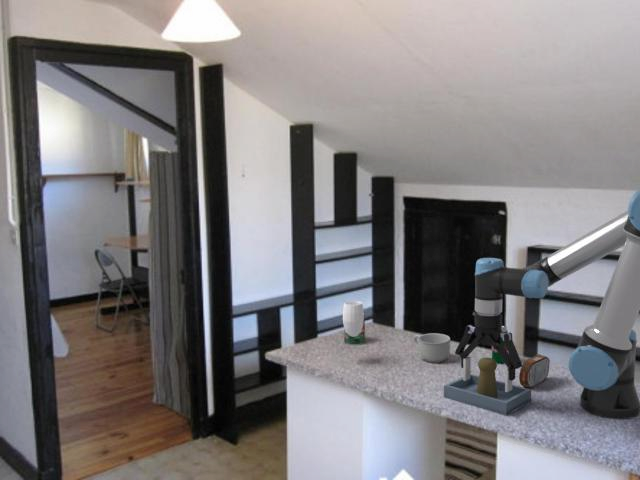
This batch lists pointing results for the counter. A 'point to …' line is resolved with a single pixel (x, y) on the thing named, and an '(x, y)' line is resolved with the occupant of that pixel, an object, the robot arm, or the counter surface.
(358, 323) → the cup
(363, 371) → the counter surface
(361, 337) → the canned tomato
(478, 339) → the robot arm
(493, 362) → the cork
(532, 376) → the tin
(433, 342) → the teacup
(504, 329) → the soda can
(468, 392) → the tray
